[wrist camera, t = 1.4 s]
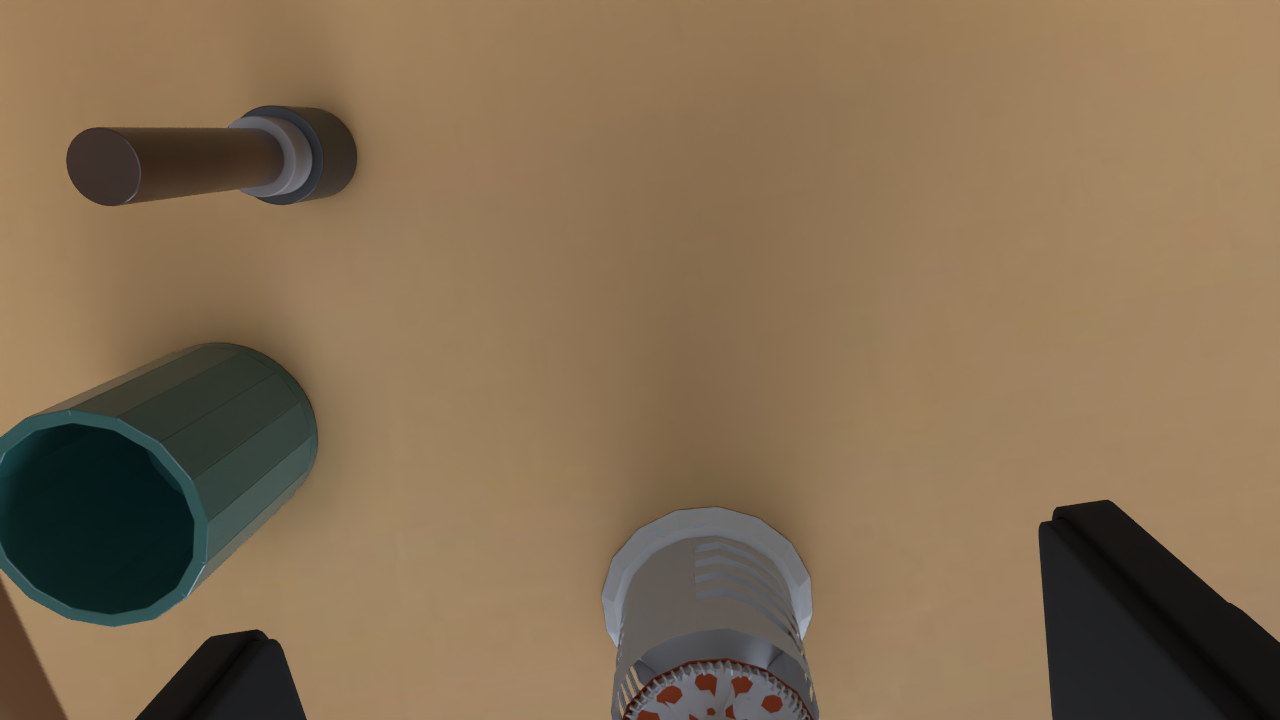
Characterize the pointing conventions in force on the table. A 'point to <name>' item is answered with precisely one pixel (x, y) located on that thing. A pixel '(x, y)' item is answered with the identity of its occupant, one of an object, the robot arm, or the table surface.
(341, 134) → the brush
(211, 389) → the cup
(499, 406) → the table surface
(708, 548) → the french press
